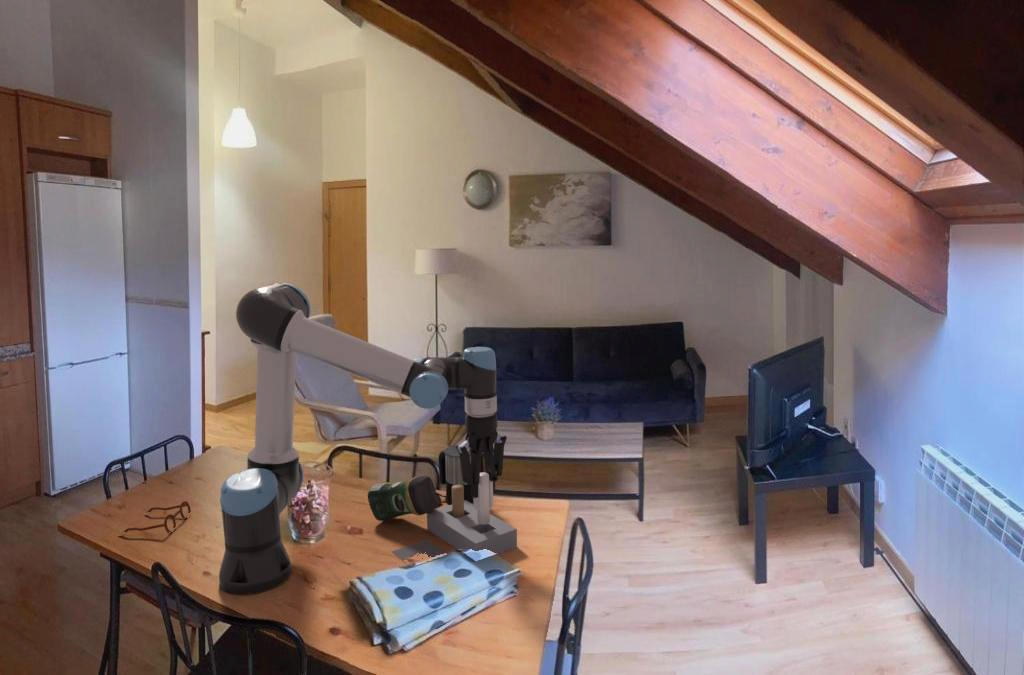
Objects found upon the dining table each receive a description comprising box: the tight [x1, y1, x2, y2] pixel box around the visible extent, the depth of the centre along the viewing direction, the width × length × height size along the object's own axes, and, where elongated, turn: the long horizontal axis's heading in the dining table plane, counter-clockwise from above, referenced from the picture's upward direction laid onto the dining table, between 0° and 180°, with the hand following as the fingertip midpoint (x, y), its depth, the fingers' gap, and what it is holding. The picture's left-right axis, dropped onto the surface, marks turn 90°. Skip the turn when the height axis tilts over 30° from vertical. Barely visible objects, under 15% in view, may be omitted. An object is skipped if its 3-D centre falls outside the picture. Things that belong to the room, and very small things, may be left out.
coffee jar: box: [367, 475, 439, 522], centre depth 177 cm, size 10×8×19 cm
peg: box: [477, 471, 491, 525], centre depth 164 cm, size 3×3×12 cm
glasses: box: [123, 500, 192, 534], centre depth 179 cm, size 13×13×5 cm
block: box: [426, 485, 518, 555], centre depth 169 cm, size 12×22×12 cm, turn 38°
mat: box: [391, 539, 447, 562], centre depth 162 cm, size 10×10×1 cm
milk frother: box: [436, 445, 474, 508], centre depth 191 cm, size 14×16×15 cm
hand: (483, 507), depth 164 cm, fingers closed on peg, 2 cm apart
